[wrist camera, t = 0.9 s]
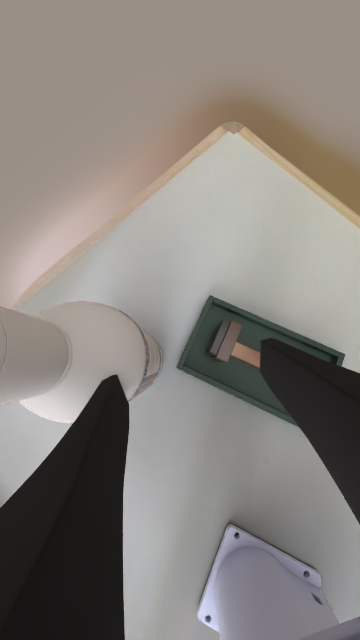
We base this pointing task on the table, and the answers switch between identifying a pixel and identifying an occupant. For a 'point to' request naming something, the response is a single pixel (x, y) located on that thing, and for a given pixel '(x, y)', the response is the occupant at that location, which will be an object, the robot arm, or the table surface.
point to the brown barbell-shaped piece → (231, 345)
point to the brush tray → (236, 373)
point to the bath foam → (72, 357)
